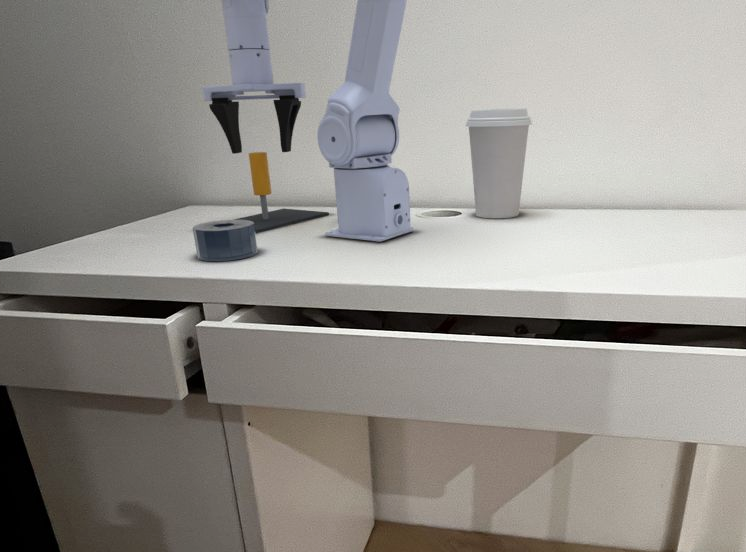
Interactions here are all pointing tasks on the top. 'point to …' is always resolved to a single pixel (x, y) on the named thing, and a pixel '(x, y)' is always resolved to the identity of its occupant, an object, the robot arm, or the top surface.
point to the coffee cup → (498, 159)
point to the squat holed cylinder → (225, 240)
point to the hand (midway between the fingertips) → (261, 152)
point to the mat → (282, 218)
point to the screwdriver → (260, 179)
